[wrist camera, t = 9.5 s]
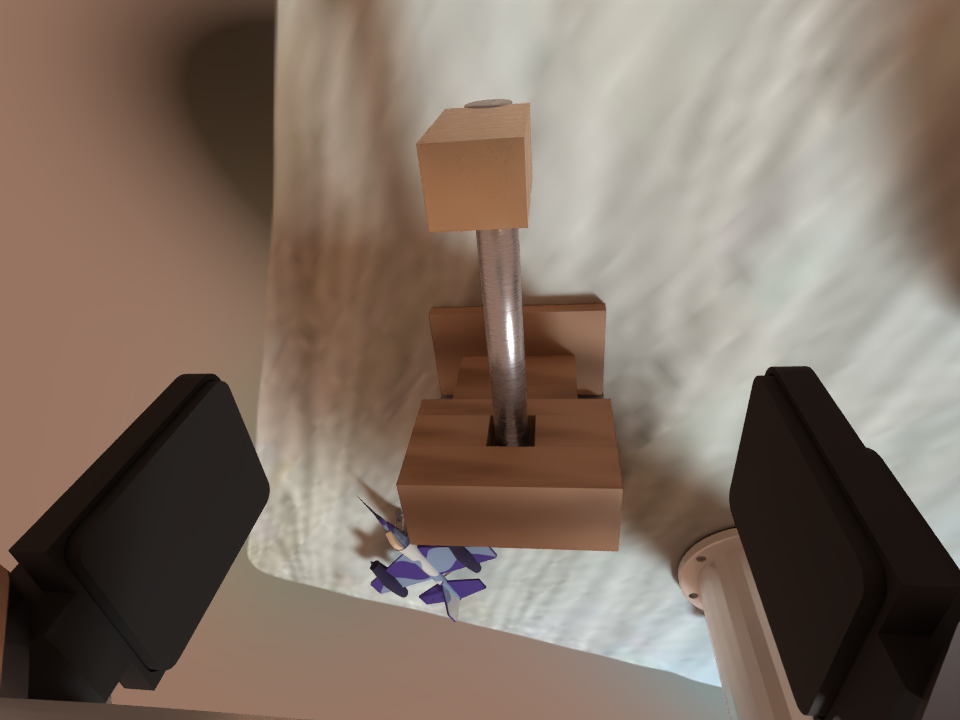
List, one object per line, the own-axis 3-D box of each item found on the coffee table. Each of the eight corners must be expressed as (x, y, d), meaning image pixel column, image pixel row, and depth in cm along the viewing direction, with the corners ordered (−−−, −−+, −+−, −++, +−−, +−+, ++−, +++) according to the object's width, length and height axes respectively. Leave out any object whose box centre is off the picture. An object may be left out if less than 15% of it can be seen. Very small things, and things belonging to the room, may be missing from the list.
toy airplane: (364, 473, 50) (352, 504, 47) (513, 513, 51) (510, 546, 48) (344, 557, 57) (333, 588, 54) (474, 591, 58) (470, 623, 55)
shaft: (542, 462, 36) (541, 563, 30) (488, 462, 36) (475, 561, 30) (531, 96, 24) (524, 136, 18) (450, 102, 24) (416, 143, 18)
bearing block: (600, 402, 42) (618, 551, 31) (445, 402, 44) (410, 544, 33) (604, 303, 38) (627, 437, 27) (431, 307, 39) (384, 436, 28)
